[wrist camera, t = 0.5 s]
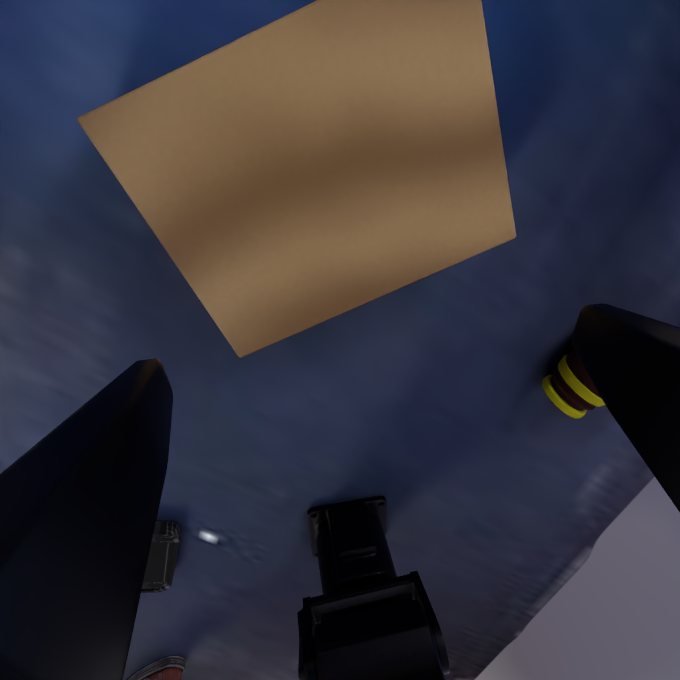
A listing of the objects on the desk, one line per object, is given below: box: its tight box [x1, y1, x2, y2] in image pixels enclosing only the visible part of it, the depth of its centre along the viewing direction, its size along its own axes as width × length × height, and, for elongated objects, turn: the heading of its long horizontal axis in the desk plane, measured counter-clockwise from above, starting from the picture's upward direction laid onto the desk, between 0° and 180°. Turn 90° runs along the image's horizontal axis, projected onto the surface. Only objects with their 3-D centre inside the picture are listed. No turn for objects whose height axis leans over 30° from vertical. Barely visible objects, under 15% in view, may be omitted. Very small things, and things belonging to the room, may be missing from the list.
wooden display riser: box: [77, 0, 516, 358], centre depth 19 cm, size 11×14×5 cm
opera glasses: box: [542, 349, 609, 418], centre depth 29 cm, size 10×5×5 cm, turn 72°
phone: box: [141, 521, 181, 593], centre depth 31 cm, size 8×1×15 cm
